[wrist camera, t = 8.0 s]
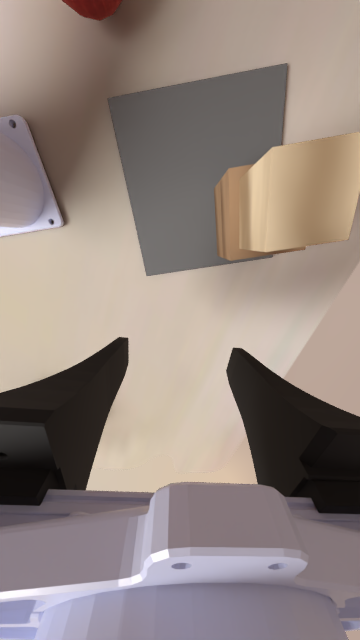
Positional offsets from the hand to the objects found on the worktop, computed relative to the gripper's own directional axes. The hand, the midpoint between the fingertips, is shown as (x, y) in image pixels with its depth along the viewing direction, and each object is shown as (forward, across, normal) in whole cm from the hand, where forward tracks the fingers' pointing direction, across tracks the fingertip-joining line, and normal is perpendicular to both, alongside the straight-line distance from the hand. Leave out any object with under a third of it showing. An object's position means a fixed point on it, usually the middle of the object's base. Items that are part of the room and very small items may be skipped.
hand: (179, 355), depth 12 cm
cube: (+5, -6, -10) cm, 12 cm away
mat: (+10, -1, -12) cm, 16 cm away
